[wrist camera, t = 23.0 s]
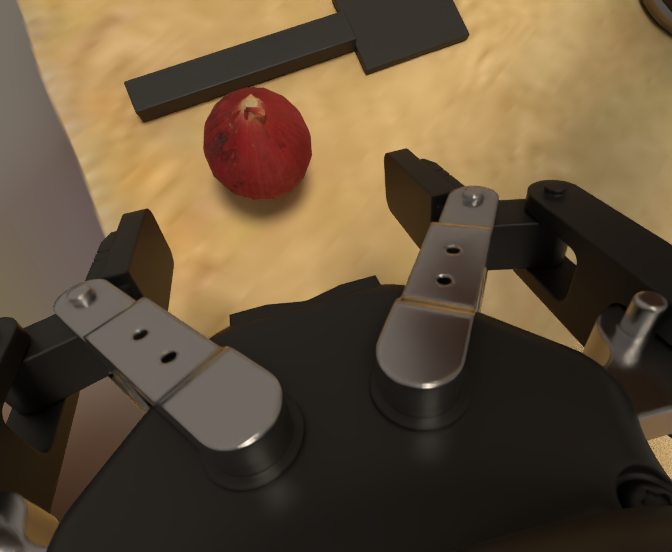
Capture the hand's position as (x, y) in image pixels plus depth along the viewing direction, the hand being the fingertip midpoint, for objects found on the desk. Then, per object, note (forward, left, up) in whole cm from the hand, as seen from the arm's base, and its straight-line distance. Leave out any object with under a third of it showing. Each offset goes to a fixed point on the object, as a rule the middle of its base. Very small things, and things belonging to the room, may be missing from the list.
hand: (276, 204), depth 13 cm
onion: (+2, -6, -12) cm, 13 cm away
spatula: (+1, -14, -11) cm, 18 cm away
